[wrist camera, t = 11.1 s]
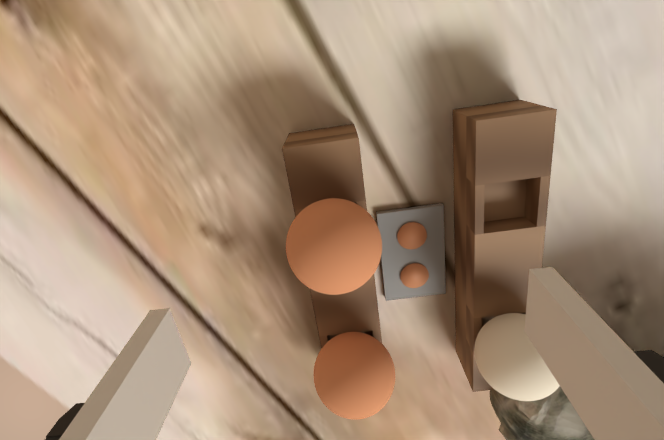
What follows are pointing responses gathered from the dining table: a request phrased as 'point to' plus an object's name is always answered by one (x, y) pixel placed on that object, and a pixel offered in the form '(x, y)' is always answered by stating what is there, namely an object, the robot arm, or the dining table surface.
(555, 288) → the robot arm
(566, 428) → the figurine
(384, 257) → the card
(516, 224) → the rack
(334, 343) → the rust ball
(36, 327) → the dining table surface
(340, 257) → the rust ball
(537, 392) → the cream ball
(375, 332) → the rack
